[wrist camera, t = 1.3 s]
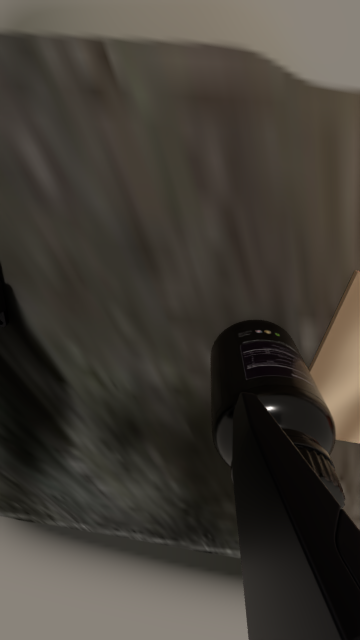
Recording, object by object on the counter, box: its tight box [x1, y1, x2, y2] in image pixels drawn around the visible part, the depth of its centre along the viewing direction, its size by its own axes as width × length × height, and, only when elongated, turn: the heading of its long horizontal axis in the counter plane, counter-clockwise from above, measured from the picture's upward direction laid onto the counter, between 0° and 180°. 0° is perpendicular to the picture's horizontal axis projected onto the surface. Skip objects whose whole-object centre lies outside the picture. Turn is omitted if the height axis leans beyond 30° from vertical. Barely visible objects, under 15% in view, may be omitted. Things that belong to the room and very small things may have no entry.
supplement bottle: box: [211, 320, 345, 509], centre depth 18 cm, size 7×7×12 cm
